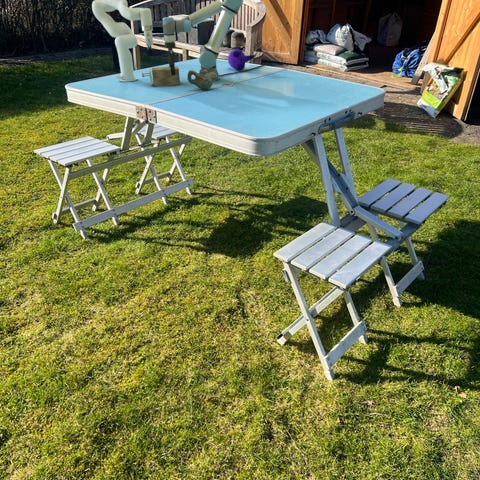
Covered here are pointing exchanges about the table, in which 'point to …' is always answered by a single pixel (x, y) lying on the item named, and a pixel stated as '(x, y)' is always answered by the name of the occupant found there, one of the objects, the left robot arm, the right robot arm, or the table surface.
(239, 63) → the toy
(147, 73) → the drawer
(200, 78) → the teapot
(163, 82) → the cabinet
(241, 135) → the table surface
